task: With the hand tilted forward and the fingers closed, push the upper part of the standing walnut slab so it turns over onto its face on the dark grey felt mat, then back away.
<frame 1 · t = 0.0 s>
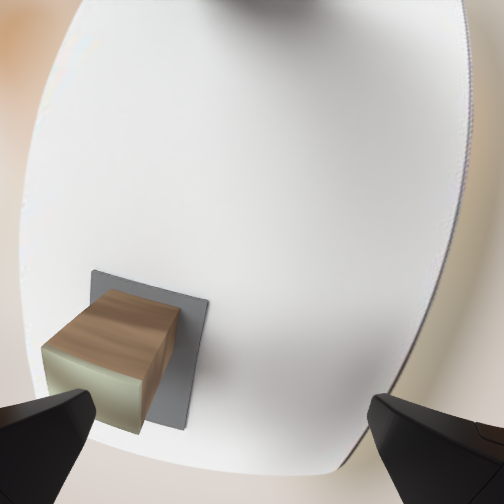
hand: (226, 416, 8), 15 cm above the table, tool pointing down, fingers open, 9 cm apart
walnut block: (141, 320, 22), resting on felt mat
felt mat: (140, 360, 23), on the table
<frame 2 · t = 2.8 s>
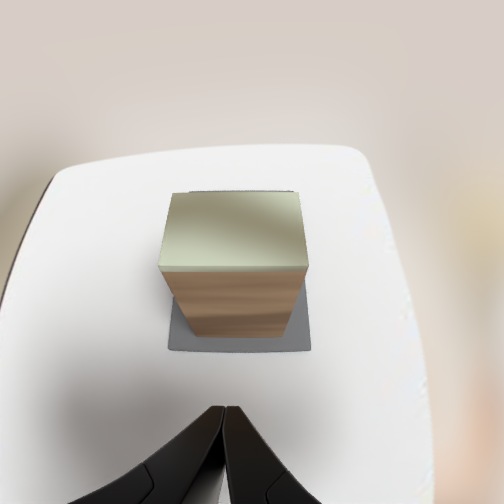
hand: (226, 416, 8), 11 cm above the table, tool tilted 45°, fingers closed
walnut block: (239, 311, 21), resting on felt mat
felt mat: (240, 261, 24), on the table
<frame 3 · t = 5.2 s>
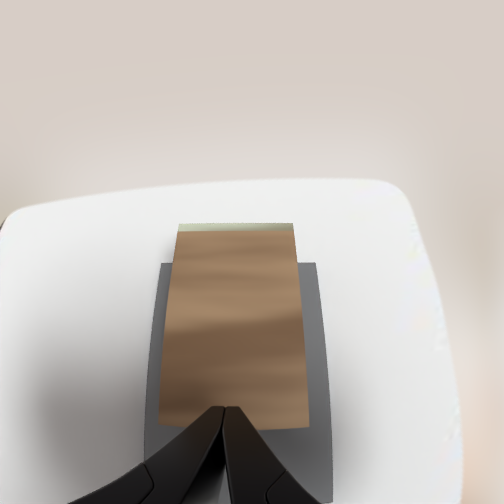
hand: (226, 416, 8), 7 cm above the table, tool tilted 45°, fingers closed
walnut block: (234, 428, 11), point 2 cm above the table, tilted 90°, touching felt mat
felt mat: (237, 384, 15), on the table
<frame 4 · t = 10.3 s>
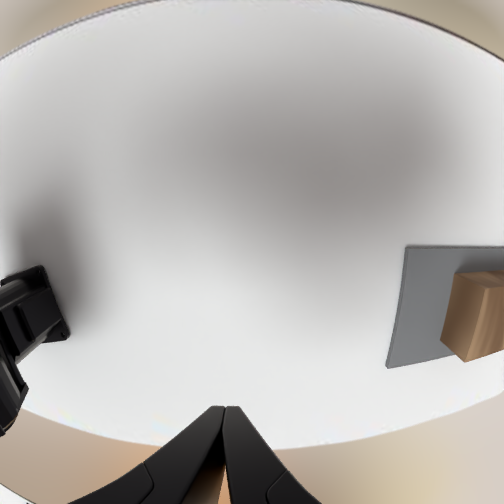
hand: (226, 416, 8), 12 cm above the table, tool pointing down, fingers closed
walnut block: (460, 317, 18), point 2 cm above the table, tilted 90°, touching felt mat
felt mat: (463, 303, 20), on the table
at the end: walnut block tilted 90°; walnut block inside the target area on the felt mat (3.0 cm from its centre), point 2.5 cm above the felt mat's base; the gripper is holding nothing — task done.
